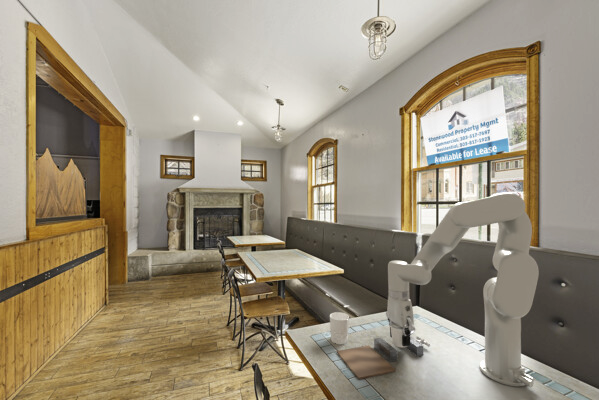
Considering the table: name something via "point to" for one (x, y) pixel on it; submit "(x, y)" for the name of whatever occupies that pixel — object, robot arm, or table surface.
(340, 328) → the white cup
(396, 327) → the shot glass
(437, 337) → the table surface
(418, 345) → the vise
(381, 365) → the serving board
